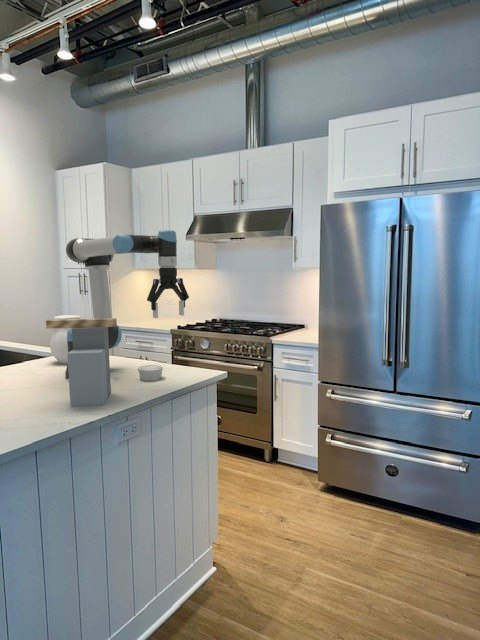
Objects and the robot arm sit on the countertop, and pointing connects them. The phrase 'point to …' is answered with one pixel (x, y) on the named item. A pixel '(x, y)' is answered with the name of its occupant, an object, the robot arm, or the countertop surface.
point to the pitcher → (61, 340)
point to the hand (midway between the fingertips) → (168, 316)
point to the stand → (89, 367)
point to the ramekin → (150, 372)
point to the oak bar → (81, 323)
